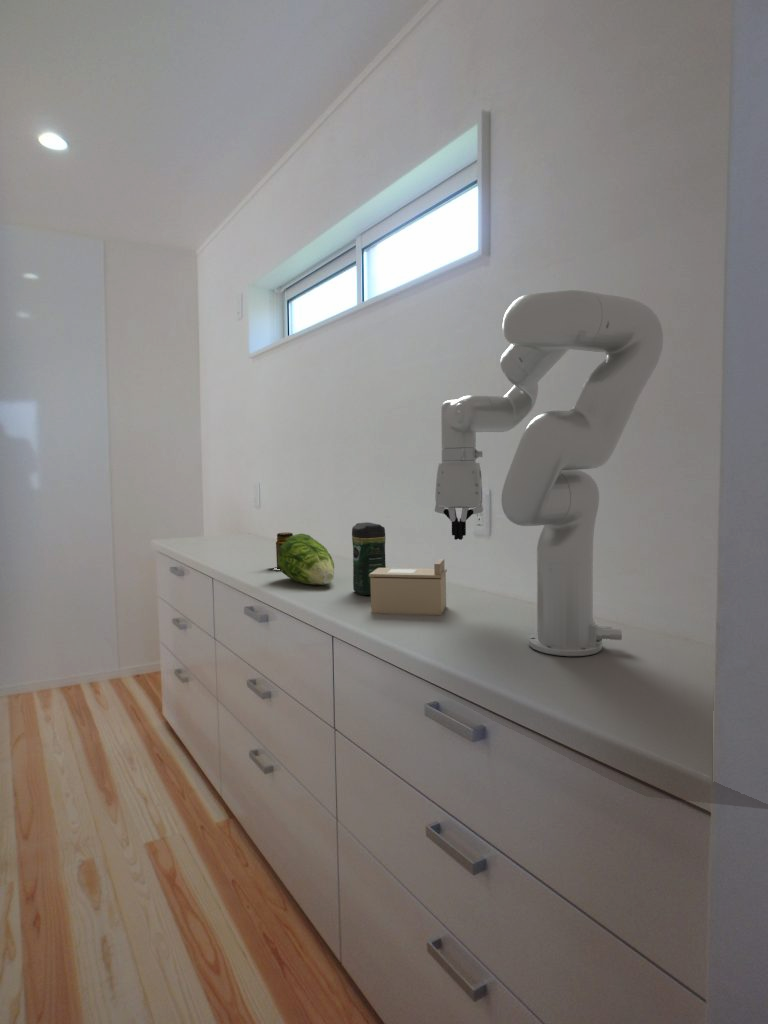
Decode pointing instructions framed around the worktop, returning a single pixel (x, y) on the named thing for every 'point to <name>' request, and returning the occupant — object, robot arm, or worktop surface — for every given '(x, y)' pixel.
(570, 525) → the robot arm
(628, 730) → the worktop surface
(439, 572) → the lid
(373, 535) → the coffee jar
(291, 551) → the lettuce
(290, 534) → the condiment
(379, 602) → the box
